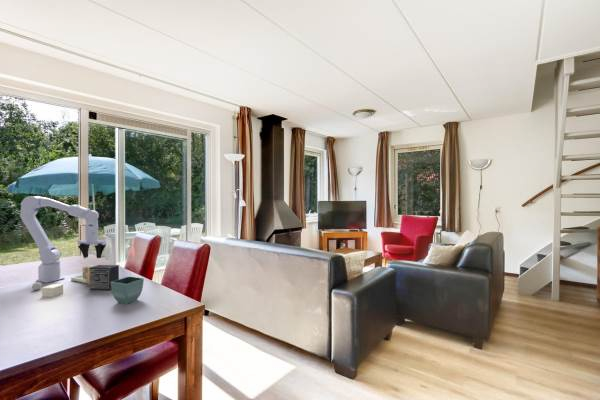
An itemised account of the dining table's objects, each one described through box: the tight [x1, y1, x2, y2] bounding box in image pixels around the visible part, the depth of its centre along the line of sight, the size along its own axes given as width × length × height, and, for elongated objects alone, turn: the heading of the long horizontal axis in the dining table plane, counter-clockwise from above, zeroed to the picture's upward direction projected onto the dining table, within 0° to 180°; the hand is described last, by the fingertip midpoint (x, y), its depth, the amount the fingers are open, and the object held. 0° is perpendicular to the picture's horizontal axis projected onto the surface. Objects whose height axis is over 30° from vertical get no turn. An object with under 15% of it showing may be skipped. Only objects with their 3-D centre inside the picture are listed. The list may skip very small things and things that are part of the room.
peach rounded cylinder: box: [86, 273, 90, 286], centre depth 146 cm, size 4×4×5 cm
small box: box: [89, 264, 120, 291], centre depth 140 cm, size 11×6×10 cm, turn 84°
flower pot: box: [111, 276, 145, 305], centre depth 122 cm, size 9×9×9 cm
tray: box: [70, 274, 87, 284], centre depth 154 cm, size 12×12×2 cm
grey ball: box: [31, 281, 43, 291], centre depth 137 cm, size 4×4×4 cm
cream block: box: [41, 283, 64, 298], centre depth 130 cm, size 5×5×4 cm
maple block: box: [82, 264, 94, 279], centre depth 154 cm, size 4×4×6 cm
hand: (92, 257), depth 159 cm, fingers open, 7 cm apart
